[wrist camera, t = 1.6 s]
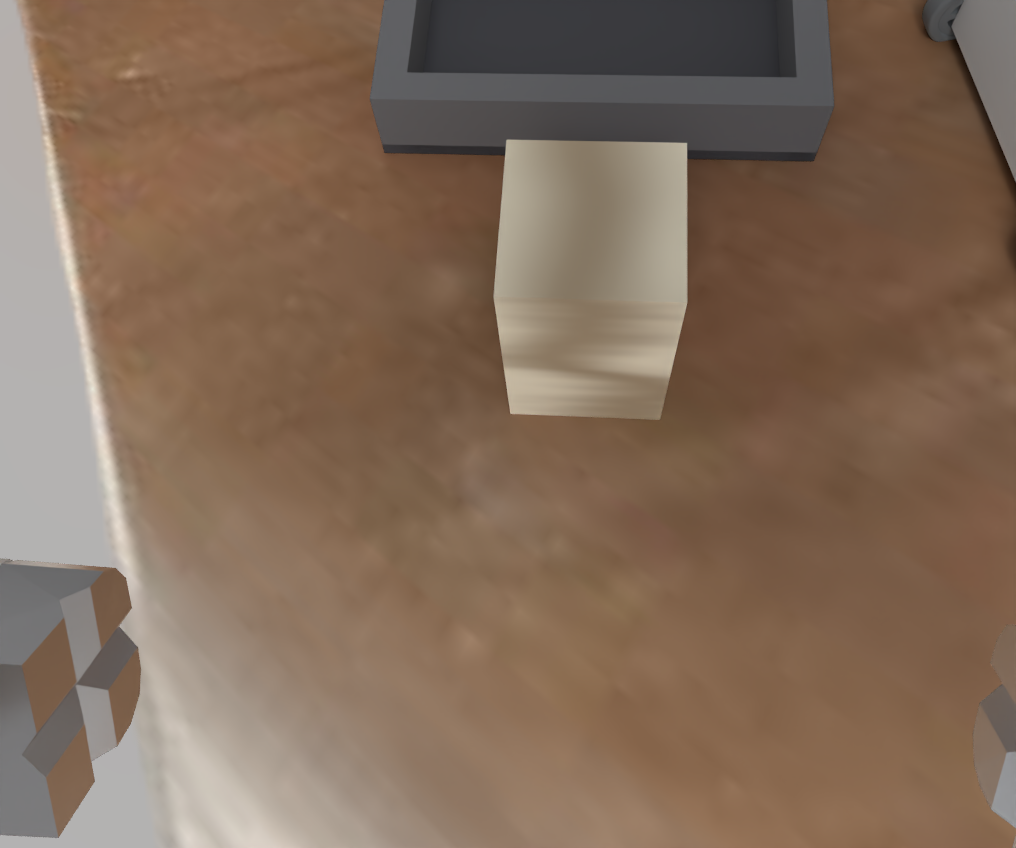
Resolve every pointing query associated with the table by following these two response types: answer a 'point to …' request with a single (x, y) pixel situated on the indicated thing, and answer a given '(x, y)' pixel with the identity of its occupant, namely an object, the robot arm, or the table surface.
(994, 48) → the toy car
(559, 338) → the birch block
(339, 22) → the table surface
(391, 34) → the tray
